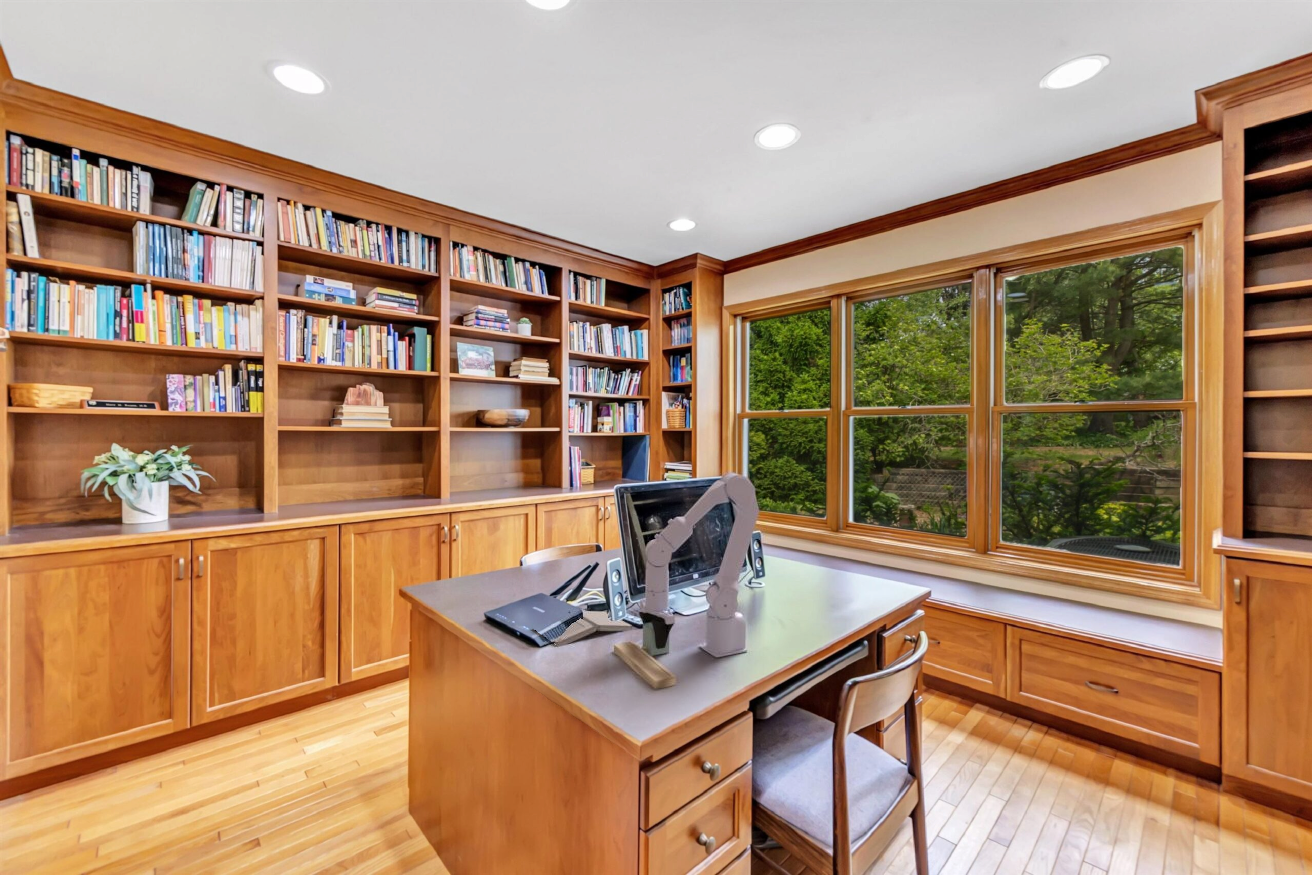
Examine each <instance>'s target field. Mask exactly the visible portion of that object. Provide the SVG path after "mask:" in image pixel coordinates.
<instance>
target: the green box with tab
mask: <svg viewBox="0 0 1312 875" xmlns="http://www.w3.org/2000/svg"><path fill="white" fill-rule="evenodd" d="M641 648H642V649H643V650H644V651H645V652H646V653H648V654H649V655H650V656H651V657H653V656H659V655H661V654H667V653H670V634H669V635H668V639H667V642H666V646H665V648H661V649H657V648H656V643H655V633H654V628H653V625H652V623H651V622H649V623H644V625H643V624H642V647H641Z"/></svg>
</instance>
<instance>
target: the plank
mask: <svg viewBox="0 0 1312 875" xmlns="http://www.w3.org/2000/svg"><path fill="white" fill-rule="evenodd" d="M613 652H614V653H615V654H616V655H617V656H618V657H619V658H620V659H621V660H622V661H623V662H624V663H625V664H627V666H629V667H630V668H631V669H632V670H633V671H634V672H635V673H637V675H639V676H640V677H641V678H642V679H643V680H644V681H646V683H647V684H648V685H649V686H651V687H652V688H653V689H654V690H659V689H663V688H667V687H671V686H676V685H677V676H676V675H675V674H673V673H672V672H671V671H670V670H669V669H668V668H666V667H665V666H664V665H662V664H661V663H660V662H659V661H658V660H657V659H655V658H654V657H653V656H650V655H649V654H648V653H647V652H645V651H644V650H643V649H642V647H640V646H639V645H638V644H637V643H636V642H634V641H632V640H631V641H626V642H620V643H614V644H613Z"/></svg>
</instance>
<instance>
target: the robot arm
mask: <svg viewBox="0 0 1312 875" xmlns="http://www.w3.org/2000/svg"><path fill="white" fill-rule="evenodd" d="M724 503H731V504H732V506H733V507H734V510H735V511H736V517H735V519H734V522H733V526H732V529H731V532H730V535H729V538H728V541H727V545H726V548H725V551H724V554H723V558H722V561H721V563H720V568H719V570H718V573H717V574H716V575H714V578H713V580H712V583H711V584H710V585H709V586H708V587H707V589H706V590H705V599H706V602H707V604H708V605H709V606H708V608H707V610H706V619H705V620H706V622H705V626H706V627H705V628H706V630H705V642H704V643H699V644H698V648H701V649H702V650H703V651H705V652H706V653H708V654H710V656H712V657H714V658H721V657H726V656H731V655H737V654H741V653H746V652H748V649H747V648H746V637H747V636H746V633H747V632H746V631H747V630H746V627H747V625H746V621H745V618H744V615H743V614H742V613H741V612H739V611H737V610H738V606H739V603H738V594H739V592H740V591H739V589H740V588H739V579H740V575H741V573H742V568H743V566H744V563H745V559H746V556H747V553H748V550H749V546H750V544H751V540H752V537H753V535H754V534H753V533H754V530H755V529H756V524H757V521H758V517H759V515H760V509H759V504H758V500H757V496H756V488H755V486H754V484H753V483H752V481H751V480H750V479H749V478H748V477H747V476H745V475H743V474H738V473H736V472H731V471H729V472H726V473H724V474H723V475H722V476H721V477H720V479H717V480H716V481H715V482H713V484H712V485H711V486H710V487H709V488H708V489H707V490H706V491H705V493H703V495H701V496H700V498H699V499H698V500H697V501H696V502H695V503H694V504H693V505H692V507H691V508H690V509H689V510H688V511H687V512H686V513H685V514H684V516H676V517H674V518H673V519H672V518H670V519H669V520H668V521H667V523H668V524H667V526H665V528H664V529H662V531H661V532H659V534H658V533H656V534H655V535H654V538H655V539H652V540H649V542H647V544H646V546H645V549H644V554H645V556H646V558H647V560H646V563H645V564H646V565H645V567H646V569H645V592H644V593H645V596H644V598H641V599H640V600H639V604H640V606H639V607H640V612H638V615H639V617H640V619H641V622H642V626H643V625H644V623H649V622H651V623H652V625H653V628H654V633H655V643H656V648H657V649H661V648H665V646H666V642H667V639H668V635H669V636H670V632H671V630H672V628H673V626H674V624H675V621H676V620H675V614H673V612H672V611H671V608H670V606H669V584H670V582H669V581H670V576H669V575H670V571H669V563H670V561H671V560H672V554H673V553H675V552H676V551H677V550H678V549H679V548H680V547H681V546H682V545H683V544H684V543H685V542H686V541H687V540H688V539H689V538H690V537H691V535H693V527H694V525H696V523H697V522H699V521H700V520H701V519H702V518H703V517H704V516H705V515H706V514H707V513H709V512H710V511H711V510H712V509H713V508H714V507H715V506H716V505H720V504H724Z"/></svg>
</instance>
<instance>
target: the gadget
mask: <svg viewBox="0 0 1312 875" xmlns="http://www.w3.org/2000/svg"><path fill="white" fill-rule="evenodd" d="M582 611H583V619H581V618H580V619H579V620H577V621H576V622H574V623H572V624H571V625H570V626H569V627H568V628H567V629H566V631H565V632H564V633H563V634H562V635H561V636H559V637H558V638H557V639H555V640H554V641H555V644H556V647H557V648H558V647H562V646H566V645H568V644H571V643H573V642H575V641H577V640H579V639H581V638H584V637H586V636H588V635H590V634H593V633H595V632H626V631H630V630H632V628H633V625H632V624H630V623H628V622H625V621H623V620H622V619H620V621H611V620H609V618H608V614H609V613H608V612H606V611H596V610H595V611H594V610H591V611H590V610H582ZM607 613H608V614H607Z"/></svg>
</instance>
